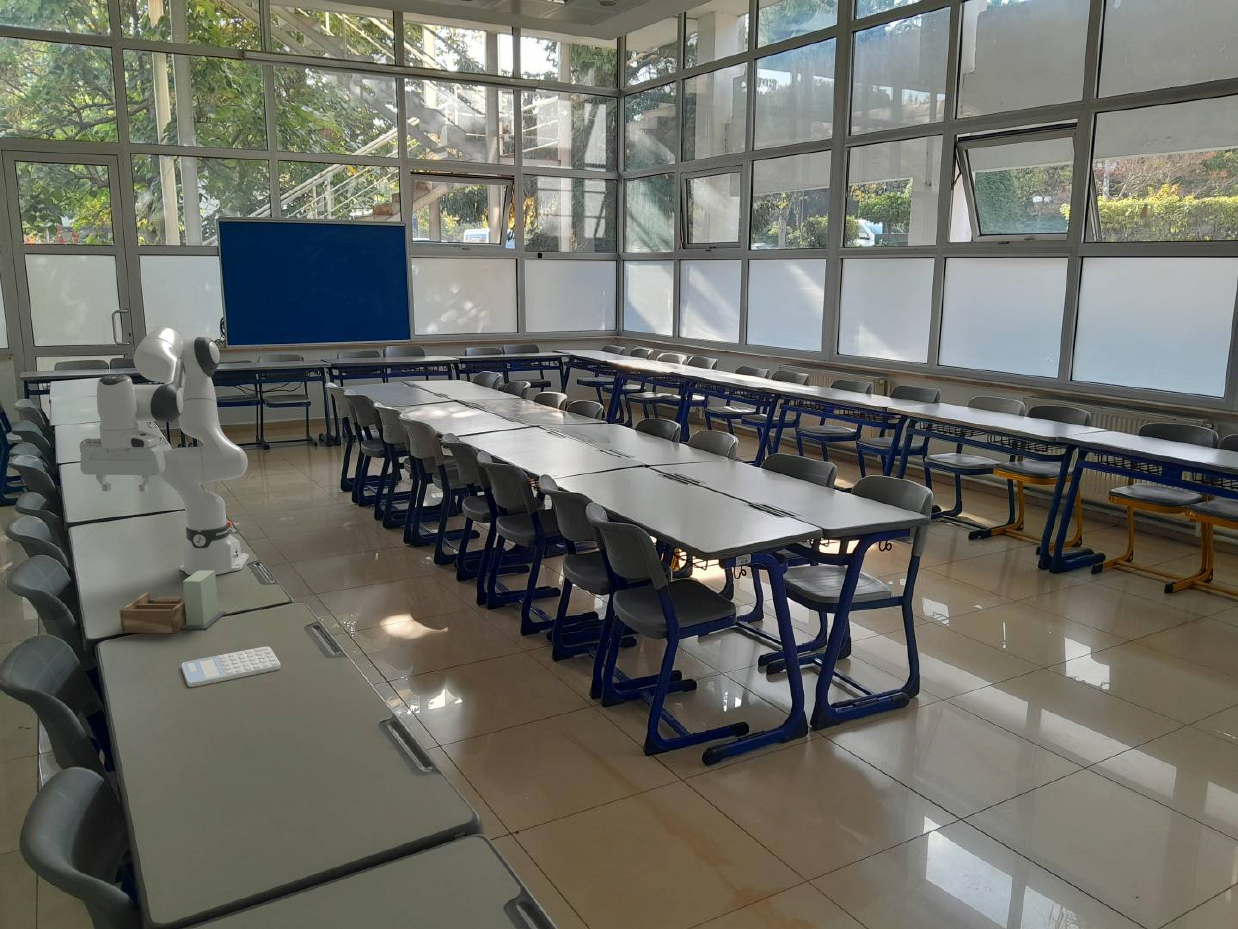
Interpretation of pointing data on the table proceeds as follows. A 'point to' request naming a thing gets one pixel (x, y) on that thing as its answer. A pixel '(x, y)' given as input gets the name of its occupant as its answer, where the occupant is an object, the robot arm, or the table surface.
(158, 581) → the table surface
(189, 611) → the sage green thick block
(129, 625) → the rack
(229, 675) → the calculator
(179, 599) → the offcut upper
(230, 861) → the table surface
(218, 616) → the mat
